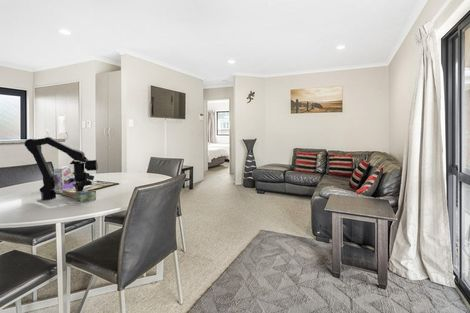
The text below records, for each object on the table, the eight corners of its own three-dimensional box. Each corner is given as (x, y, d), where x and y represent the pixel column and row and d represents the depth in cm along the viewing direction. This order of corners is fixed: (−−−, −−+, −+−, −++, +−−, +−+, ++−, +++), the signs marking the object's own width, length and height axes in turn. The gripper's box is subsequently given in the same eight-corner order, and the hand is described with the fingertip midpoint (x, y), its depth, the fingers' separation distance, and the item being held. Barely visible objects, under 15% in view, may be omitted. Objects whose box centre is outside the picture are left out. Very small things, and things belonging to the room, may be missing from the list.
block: (81, 199, 158) (81, 192, 158) (77, 197, 161) (77, 191, 161) (90, 197, 162) (89, 191, 162) (86, 196, 165) (85, 190, 165)
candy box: (62, 191, 183) (60, 168, 181) (54, 190, 183) (52, 168, 181) (74, 186, 197) (73, 165, 195) (67, 186, 197) (65, 165, 195)
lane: (81, 202, 155) (80, 195, 154) (62, 196, 168) (62, 190, 168) (104, 197, 167) (104, 191, 166) (85, 192, 181) (85, 186, 180)
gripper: (99, 170, 164) (100, 194, 165) (85, 168, 174) (86, 190, 176) (81, 173, 154) (82, 198, 156) (67, 169, 165) (68, 193, 166)
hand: (80, 194), depth 164 cm, fingers closed
